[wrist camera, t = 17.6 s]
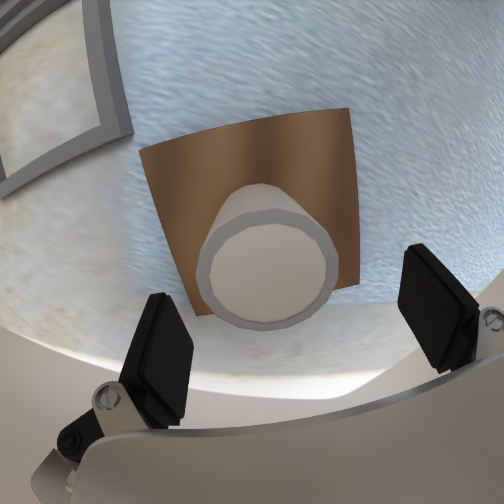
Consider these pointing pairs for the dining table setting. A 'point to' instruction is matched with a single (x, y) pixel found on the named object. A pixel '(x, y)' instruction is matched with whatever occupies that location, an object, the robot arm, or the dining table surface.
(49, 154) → the housing
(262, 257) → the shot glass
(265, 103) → the dining table surface
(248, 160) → the walnut mat
